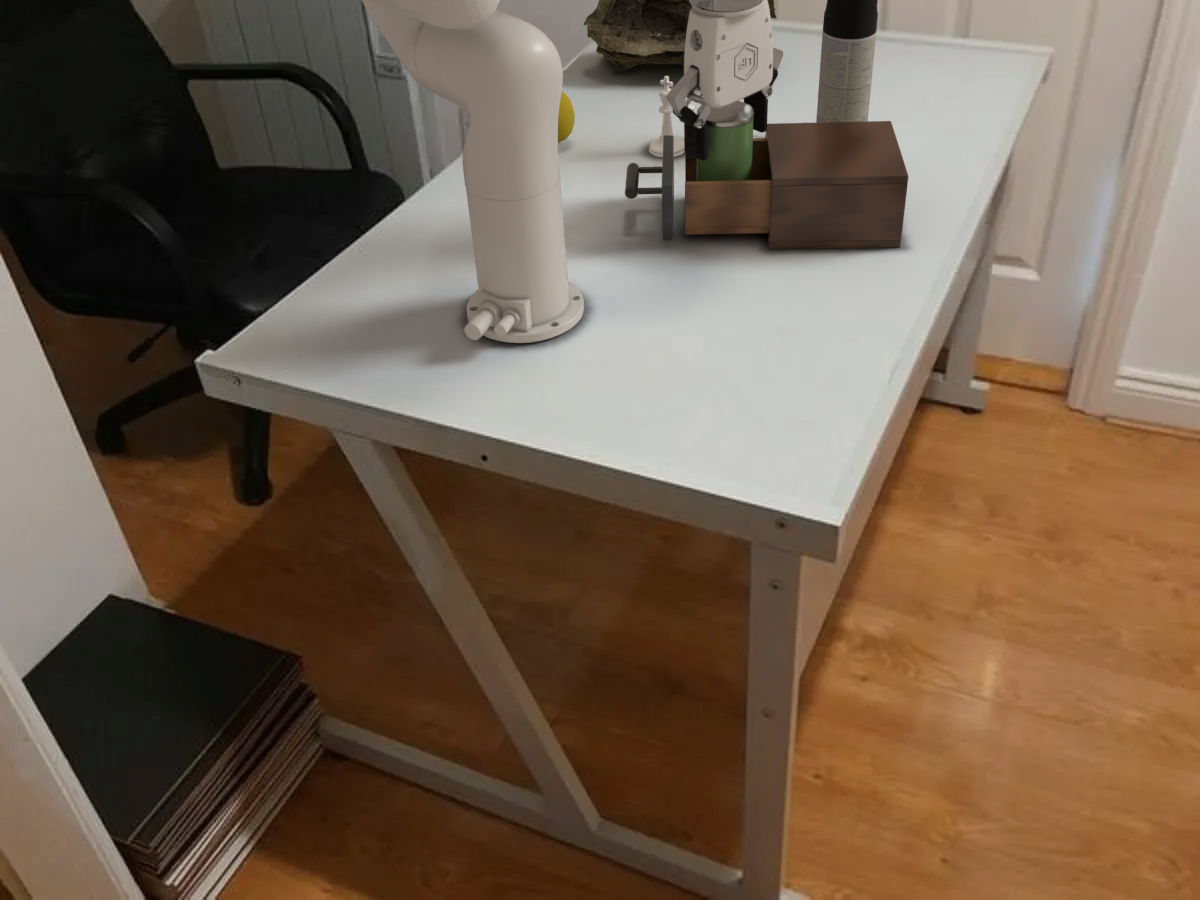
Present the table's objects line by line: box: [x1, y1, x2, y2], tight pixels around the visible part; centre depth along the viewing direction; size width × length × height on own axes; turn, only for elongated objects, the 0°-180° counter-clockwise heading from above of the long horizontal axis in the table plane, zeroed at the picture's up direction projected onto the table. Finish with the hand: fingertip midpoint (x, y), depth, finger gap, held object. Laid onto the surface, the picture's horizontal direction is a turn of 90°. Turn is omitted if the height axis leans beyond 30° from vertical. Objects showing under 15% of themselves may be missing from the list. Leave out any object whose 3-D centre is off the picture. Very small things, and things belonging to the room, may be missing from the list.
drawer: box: [624, 135, 772, 242], centre depth 143 cm, size 18×14×7 cm
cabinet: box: [764, 120, 909, 250], centre depth 142 cm, size 15×15×9 cm
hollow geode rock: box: [583, 0, 777, 72], centre depth 182 cm, size 28×13×15 cm
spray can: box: [815, 0, 879, 123], centre depth 155 cm, size 7×7×20 cm
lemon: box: [558, 91, 576, 145], centre depth 162 cm, size 6×6×8 cm
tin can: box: [696, 100, 754, 181], centre depth 141 cm, size 6×6×12 cm
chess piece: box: [648, 75, 685, 158], centre depth 159 cm, size 5×5×10 cm
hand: (726, 142), depth 140 cm, fingers open, 9 cm apart
